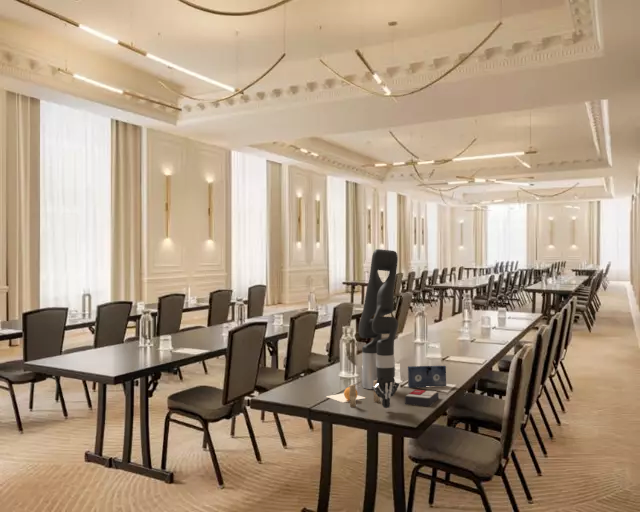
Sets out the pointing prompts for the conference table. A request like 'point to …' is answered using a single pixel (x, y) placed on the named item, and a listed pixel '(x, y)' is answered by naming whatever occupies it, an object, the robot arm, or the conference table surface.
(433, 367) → the vhs cassette tape
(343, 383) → the conference table surface
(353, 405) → the post
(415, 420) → the conference table surface
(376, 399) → the post
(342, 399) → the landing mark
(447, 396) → the conference table surface
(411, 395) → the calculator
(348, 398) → the ball
